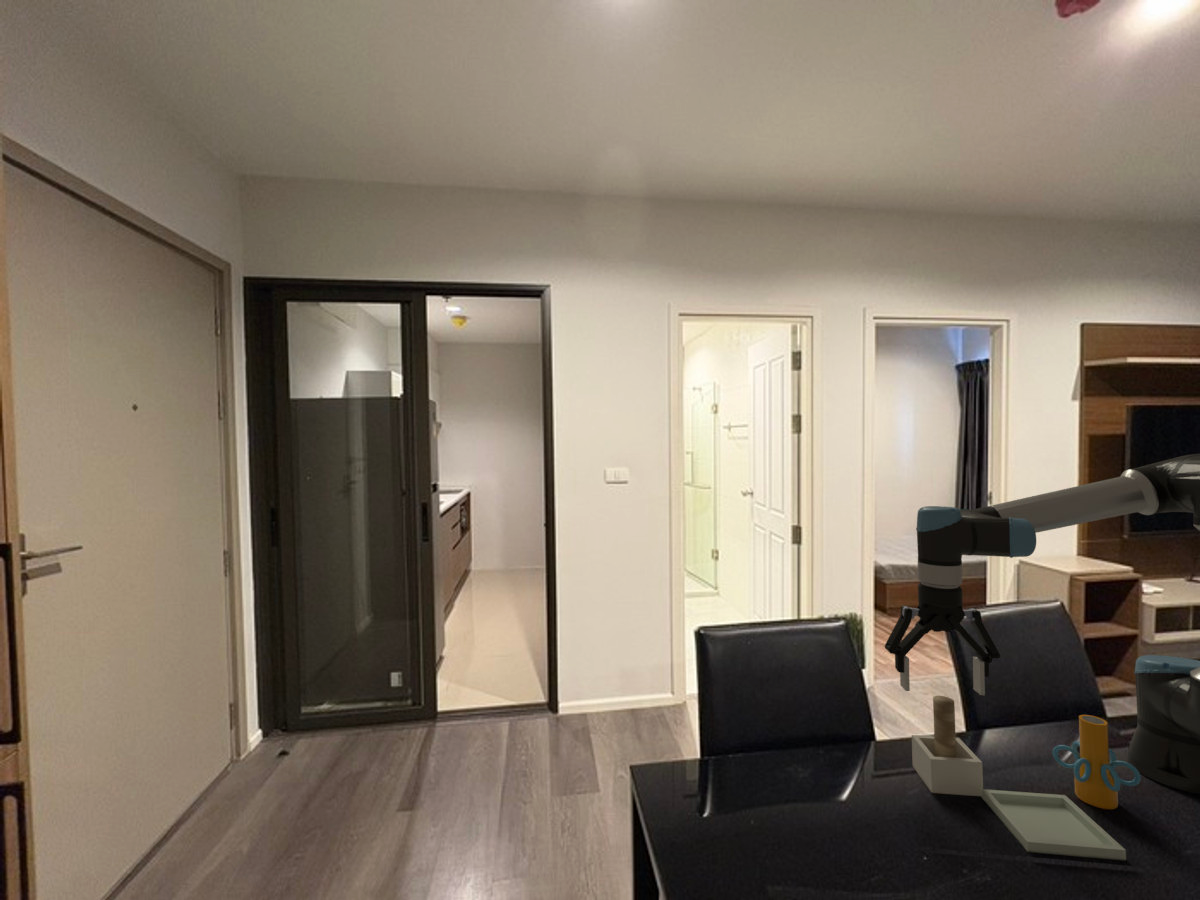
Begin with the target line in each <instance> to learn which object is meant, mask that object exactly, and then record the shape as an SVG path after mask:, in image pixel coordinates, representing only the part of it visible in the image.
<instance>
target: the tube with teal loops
mask: <svg viewBox="0 0 1200 900" xmlns="http://www.w3.org/2000/svg"><path fill="white" fill-rule="evenodd" d="M1078 723H1079V724H1078V728H1079V730H1078V731H1079V740H1078V741H1077V740H1075V741H1074V742H1073V743H1072V745H1071V746H1069V745H1067V744H1058V745H1056V746H1055V747H1054V748H1053V749H1052V756H1053V759H1054V760H1055V762H1057V763H1058V764H1059V765H1060V766H1062V767H1064V768H1066V769H1070V770H1073V776H1074V777H1073V781H1074V793H1075V796H1076V797H1077V798H1078V799H1079V800H1080V801H1082V802H1083V803H1086V804H1087V805H1090V806H1092V807H1096V808H1098V809H1101V810H1102V809H1103V810H1115V809H1117V808H1118V806H1119V796H1118V794H1119V793H1118V791H1119V790H1120V789H1121V785H1124V786H1127V787H1135V786H1138V785H1139V784H1140V782H1141V780H1142V779H1141V773H1140V772H1138V770H1137V769H1136V768H1135V767H1134V766H1133V765H1131V764H1129V763H1128V761H1124V760H1117V757H1116V756H1117V755H1116V753H1115V752H1114V751H1113V749H1111V748H1109V747H1110V746H1109V745H1110V744H1109V723H1108V721H1107V720H1105V719H1103V718H1101V717H1099V716H1095V715H1091V714H1090V715H1089V714H1080V715H1078ZM1078 747H1079V752H1078ZM1062 750H1066V751H1069V752H1070V753H1071V754H1072V755H1073V757H1074V759H1075V762H1073V763H1071V764H1070V763H1066V762H1064V760H1062V759H1060V758H1059V755H1058V753H1059V751H1062ZM1118 766H1122V767H1126V768H1128V769H1129V770H1131V771H1132V772H1133V775H1134V778H1133V779H1131V780H1124V779H1122V778H1120V777H1119V775H1118V772H1117V770H1116V767H1118Z"/></svg>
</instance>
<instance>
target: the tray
mask: <svg viewBox="0 0 1200 900" xmlns="http://www.w3.org/2000/svg"><path fill="white" fill-rule="evenodd" d="M981 799H982V800H983V801H984V802H985V803H986V805H987V806H988V807H989V808H990V809H991V811H993V813H994V814H995V815H996V816H997V818H998V819H999V820H1000V821H1001V822H1002V823H1003V825H1004V826H1005V827H1006V829H1007V830H1008V831H1009V832H1010V833H1011V834H1012V835H1013V836H1014V837H1015V839H1016V840H1017V841H1018V842H1019V844H1020V845H1021V846H1022V847H1023V848H1024V849H1025V850H1026V852H1027V853H1037V854H1046V855H1057V856H1059V855H1060V856H1068V857H1069V856H1070V857H1081V858H1091V859H1092V858H1093V859H1103V860H1114V861H1126V862H1127V850H1126V849H1125V848H1124V847H1123V846H1122V845H1121V844H1120V843H1118V842H1117V841H1116V840H1115V839H1114V838H1113V837H1112V836H1111V835H1110V834H1109V833H1108V832H1106V831H1105V830H1104V828H1102V827H1101V826H1100V825H1099V824H1097V822H1095V821H1094V820H1093V819H1092V818H1091V817H1090V816H1089V815H1088V814H1087V813H1086V812H1084V811H1083V810H1082V809H1081V808H1080V807H1079V806H1078V805H1076V804H1075V802H1073V801H1072V800H1071V799H1070V798H1069V797H1068V796H1067V795H1066V794H1056V793H1055V794H1054V793H1039V792H1038V793H1037V792H1025V791H1012V790H1001V789H999V790H997V789H985V788H983V789H982V796H981Z"/></svg>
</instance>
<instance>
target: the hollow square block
mask: <svg viewBox="0 0 1200 900" xmlns="http://www.w3.org/2000/svg"><path fill="white" fill-rule="evenodd" d="M911 752H912V755H911V756H912V760H911V761H912V767H913V769H914V771H916V772H917V774H918V777H920V779H921V780H922V781H923V782H924V784H925V786H926V787H927V789H928V790H929V791H930V792H931V793H933V794H944V795H955V796H956V795H957V796H959V795H960V796H969V797H970V796H972V797H973V796H974V797H982V789H984V778H983V776H984V775H983V774H984V773H983V762H982V761H981V759H979V757H978V756H977V755H976V754H975V753H974V752H973V751H972V750H971V749H970V748H969V747H968V746H967V745H966V744H965V742H964V741H963V740H962V739H961V738H960V737H956V758H950V757H935V742H934V736H933V735H918V734H915V735H914V734H911Z"/></svg>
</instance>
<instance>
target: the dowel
mask: <svg viewBox="0 0 1200 900" xmlns="http://www.w3.org/2000/svg"><path fill="white" fill-rule="evenodd" d="M932 705H933V710H932V711H933V735H934V742H935V757H950V758H956V738H957V737H956V712H955V711H956V710H955V708H956V707H955V700H954V699H953V698H950V697H949V696H945V695H944V696H943V695H934V696H933V697H932Z"/></svg>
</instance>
